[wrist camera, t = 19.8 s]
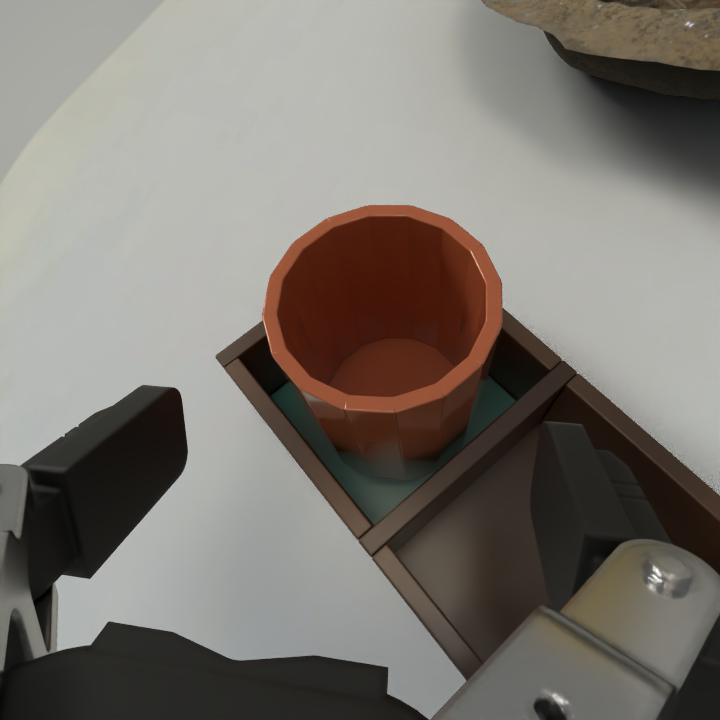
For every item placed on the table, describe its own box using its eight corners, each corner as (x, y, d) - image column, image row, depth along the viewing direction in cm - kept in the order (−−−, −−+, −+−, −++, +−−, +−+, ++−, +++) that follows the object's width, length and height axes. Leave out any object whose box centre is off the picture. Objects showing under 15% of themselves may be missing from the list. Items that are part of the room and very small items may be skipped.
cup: (290, 398, 21) (219, 294, 14) (402, 310, 22) (392, 170, 15) (387, 516, 19) (364, 465, 11) (507, 411, 20) (555, 303, 13)
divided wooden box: (255, 403, 22) (213, 355, 18) (403, 286, 24) (399, 217, 19) (548, 777, 16) (594, 845, 12) (724, 587, 17) (823, 583, 13)
